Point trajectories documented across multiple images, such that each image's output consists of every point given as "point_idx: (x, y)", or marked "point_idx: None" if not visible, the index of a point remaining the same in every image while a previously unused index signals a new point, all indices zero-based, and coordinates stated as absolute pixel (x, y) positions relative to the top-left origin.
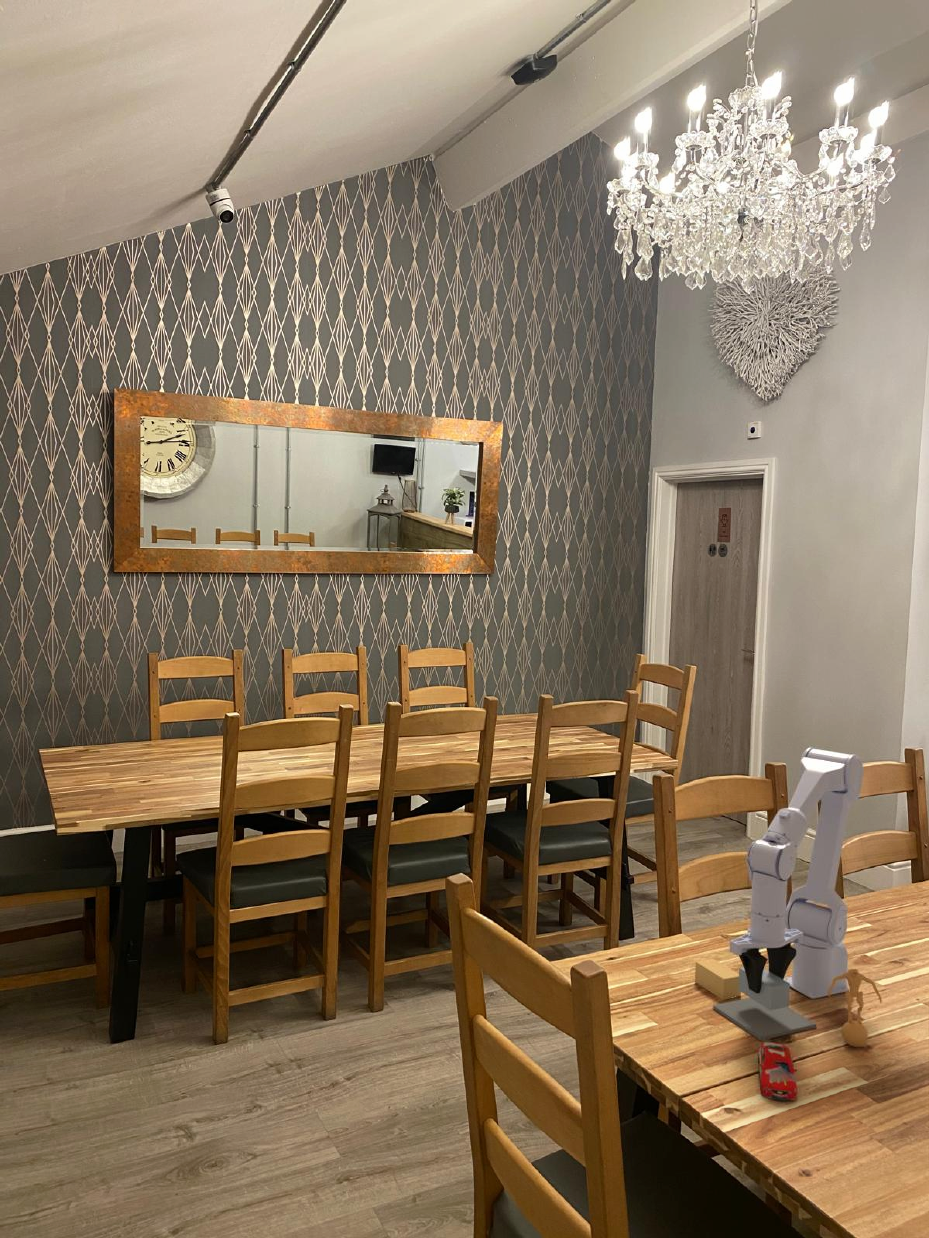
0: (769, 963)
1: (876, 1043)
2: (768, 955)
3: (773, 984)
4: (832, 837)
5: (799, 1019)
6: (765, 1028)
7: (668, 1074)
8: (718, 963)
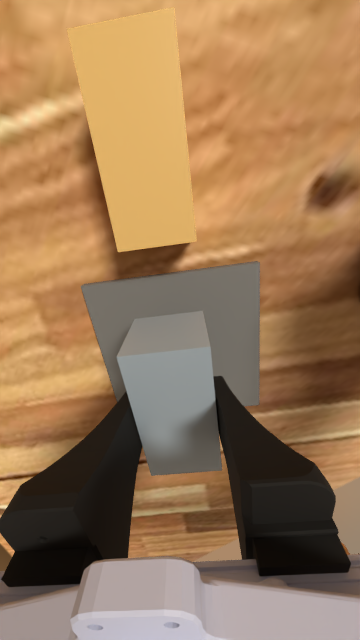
0: (223, 420)
1: (311, 455)
2: (229, 441)
3: (167, 466)
4: None
5: (240, 384)
6: None
7: None
8: (169, 89)
